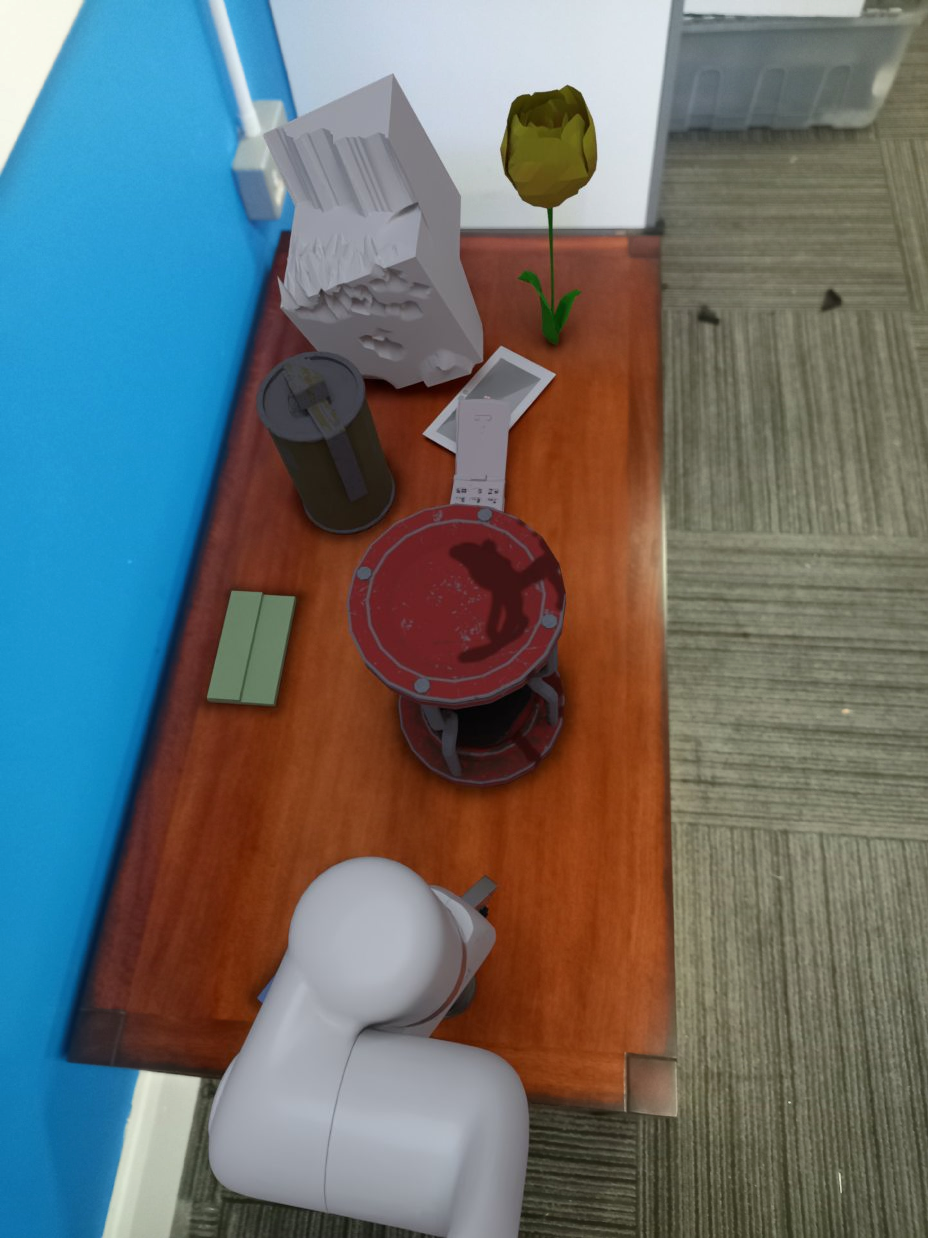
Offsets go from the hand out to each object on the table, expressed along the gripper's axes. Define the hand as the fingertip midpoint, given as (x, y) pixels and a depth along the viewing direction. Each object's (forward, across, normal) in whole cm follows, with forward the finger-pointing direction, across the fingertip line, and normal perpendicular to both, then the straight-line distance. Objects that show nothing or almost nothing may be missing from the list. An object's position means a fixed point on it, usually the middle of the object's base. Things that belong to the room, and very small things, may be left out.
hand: (438, 977), depth 68 cm
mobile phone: (+10, +38, +26) cm, 47 cm away
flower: (+9, +63, +34) cm, 72 cm away
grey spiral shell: (+10, 0, 0) cm, 10 cm away
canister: (+10, +33, +40) cm, 53 cm away
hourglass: (+10, +22, +13) cm, 27 cm away
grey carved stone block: (+9, +53, +50) cm, 73 cm away
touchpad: (+9, +51, +34) cm, 62 cm away
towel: (+10, +13, +36) cm, 40 cm away
